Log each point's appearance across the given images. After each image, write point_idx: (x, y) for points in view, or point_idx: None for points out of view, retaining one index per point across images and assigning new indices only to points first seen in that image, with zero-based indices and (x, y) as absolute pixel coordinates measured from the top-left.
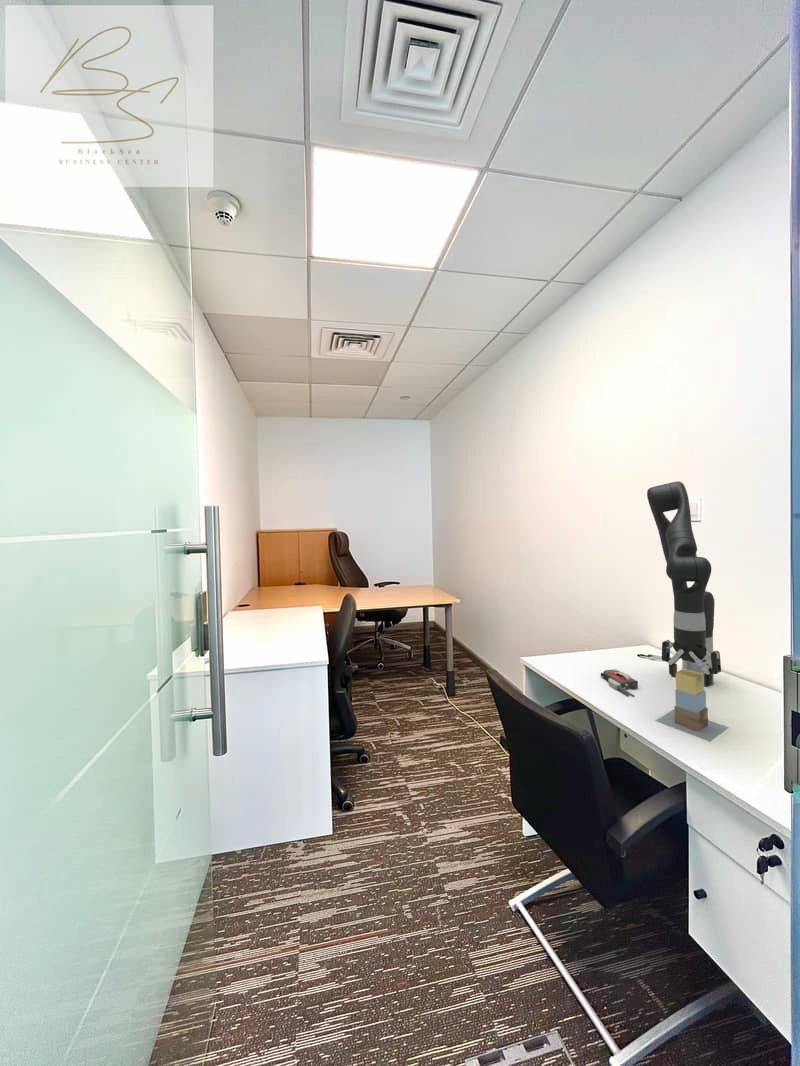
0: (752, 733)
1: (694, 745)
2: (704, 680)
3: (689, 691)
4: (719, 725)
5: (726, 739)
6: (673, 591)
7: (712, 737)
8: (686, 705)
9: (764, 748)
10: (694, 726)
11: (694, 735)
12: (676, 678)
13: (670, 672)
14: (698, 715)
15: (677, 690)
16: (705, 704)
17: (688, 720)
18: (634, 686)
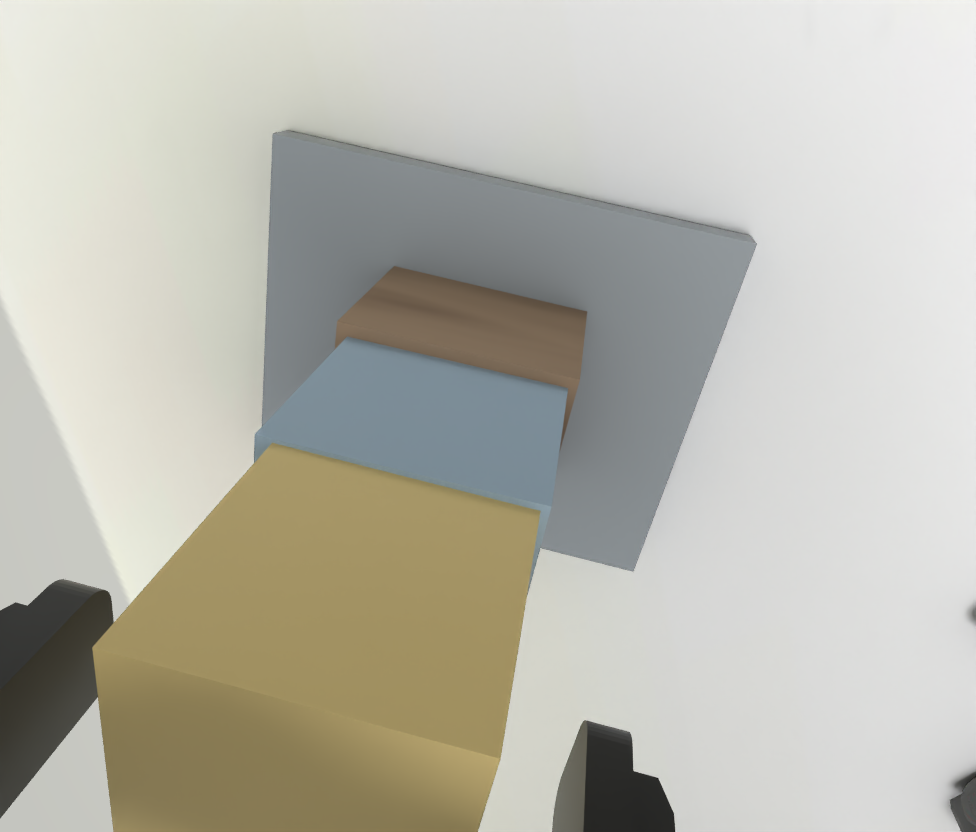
0: (169, 504)
1: (375, 25)
2: (18, 664)
3: (343, 484)
4: None
5: (241, 319)
6: None
7: (283, 228)
8: (442, 384)
9: (49, 339)
10: (413, 282)
11: (396, 164)
12: (509, 651)
13: (646, 817)
14: (341, 325)
15: (521, 495)
16: None
17: (455, 306)
18: None
